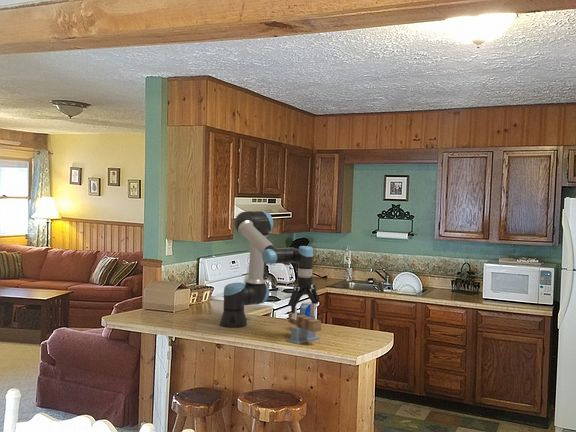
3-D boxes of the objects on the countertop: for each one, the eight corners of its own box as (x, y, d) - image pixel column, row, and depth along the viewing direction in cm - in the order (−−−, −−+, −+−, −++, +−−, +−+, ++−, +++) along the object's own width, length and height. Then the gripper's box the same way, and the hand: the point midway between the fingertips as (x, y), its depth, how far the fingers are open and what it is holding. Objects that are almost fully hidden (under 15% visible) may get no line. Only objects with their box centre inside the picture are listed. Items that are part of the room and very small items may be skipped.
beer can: (305, 329, 329) (306, 300, 328) (317, 331, 323) (318, 302, 323) (296, 331, 322) (297, 302, 322) (308, 334, 317) (309, 304, 316)
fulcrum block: (286, 341, 301) (287, 327, 301) (308, 336, 312) (309, 322, 312) (297, 344, 295) (298, 329, 295) (319, 339, 306) (320, 325, 306)
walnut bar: (288, 322, 312) (288, 312, 312) (296, 321, 315) (296, 312, 315) (312, 331, 291) (312, 321, 291) (320, 331, 294) (321, 321, 294)
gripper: (292, 279, 291) (291, 322, 292) (326, 275, 308) (325, 315, 310) (282, 277, 297) (280, 319, 298) (316, 273, 314) (314, 313, 315)
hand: (303, 317), depth 304 cm, fingers open, 13 cm apart
